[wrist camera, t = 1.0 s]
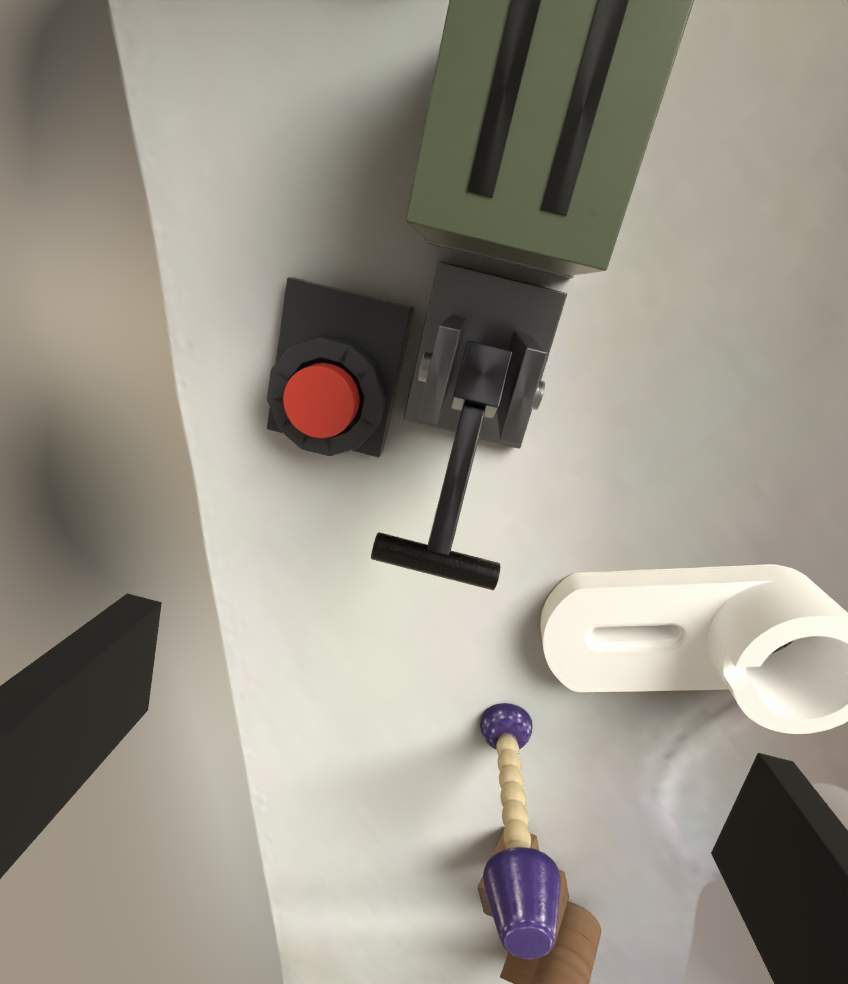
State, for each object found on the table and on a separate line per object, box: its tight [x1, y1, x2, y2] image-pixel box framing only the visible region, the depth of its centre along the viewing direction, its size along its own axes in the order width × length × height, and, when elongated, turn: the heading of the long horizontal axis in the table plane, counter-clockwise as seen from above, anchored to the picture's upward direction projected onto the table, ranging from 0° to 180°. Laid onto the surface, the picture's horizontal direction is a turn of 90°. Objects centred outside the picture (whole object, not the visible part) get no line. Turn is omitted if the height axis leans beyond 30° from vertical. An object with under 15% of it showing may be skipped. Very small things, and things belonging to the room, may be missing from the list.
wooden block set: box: [478, 828, 601, 984], centre depth 49 cm, size 18×9×10 cm, turn 12°
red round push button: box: [283, 363, 360, 438], centre depth 35 cm, size 4×4×2 cm
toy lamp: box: [480, 704, 561, 959], centre depth 39 cm, size 5×5×17 cm
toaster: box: [406, 0, 694, 278], centre depth 28 cm, size 11×9×11 cm
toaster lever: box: [371, 341, 513, 590], centre depth 27 cm, size 11×6×2 cm, turn 167°
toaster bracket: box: [404, 262, 567, 448], centre depth 31 cm, size 10×8×12 cm
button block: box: [267, 278, 413, 457], centre depth 37 cm, size 10×8×3 cm
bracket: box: [540, 564, 848, 734], centre depth 39 cm, size 20×9×7 cm, turn 96°
